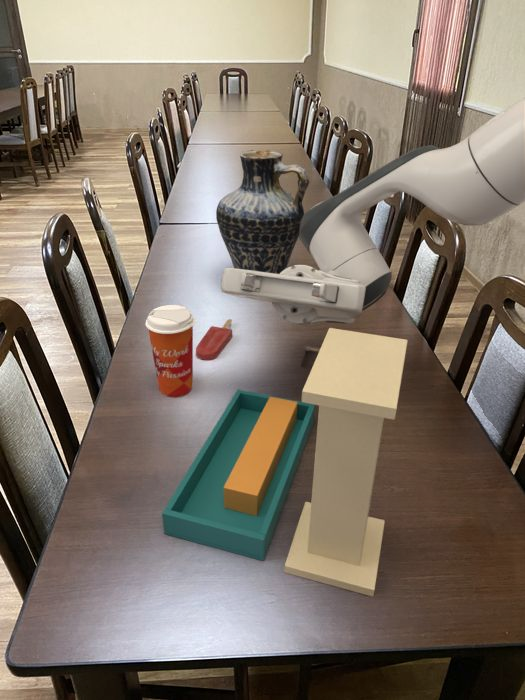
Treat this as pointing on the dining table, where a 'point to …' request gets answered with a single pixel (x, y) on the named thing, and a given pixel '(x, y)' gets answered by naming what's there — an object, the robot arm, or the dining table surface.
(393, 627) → the dining table surface
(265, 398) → the tray
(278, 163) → the jug
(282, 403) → the orange rectangular bar
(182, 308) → the paper cup
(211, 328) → the popsicle
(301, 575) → the stand
